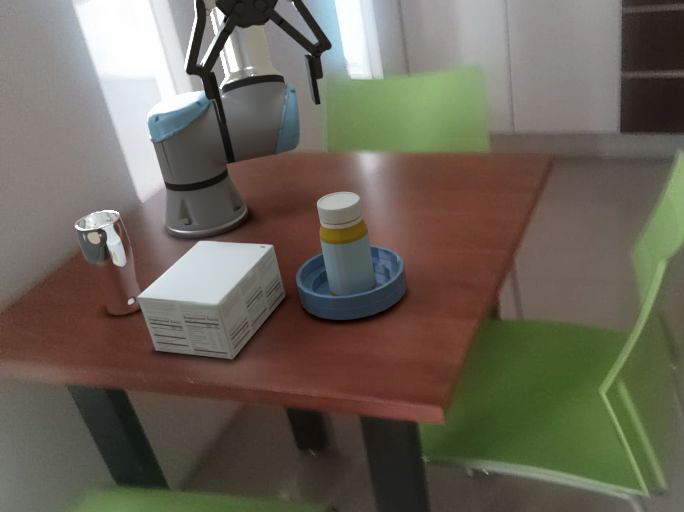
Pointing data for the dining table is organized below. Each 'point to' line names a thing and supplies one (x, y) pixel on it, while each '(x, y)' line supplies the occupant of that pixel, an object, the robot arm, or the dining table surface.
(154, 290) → the supplement box
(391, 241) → the dining table surface
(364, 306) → the bowl
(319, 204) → the bottle
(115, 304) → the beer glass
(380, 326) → the dining table surface
